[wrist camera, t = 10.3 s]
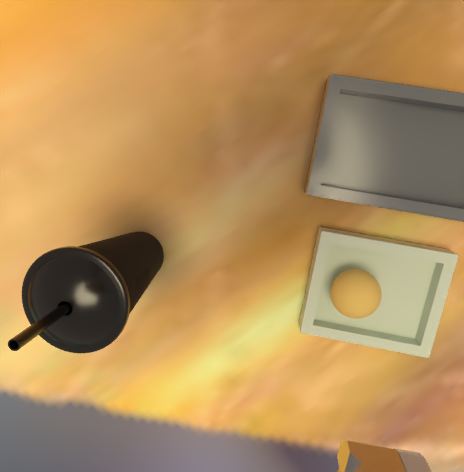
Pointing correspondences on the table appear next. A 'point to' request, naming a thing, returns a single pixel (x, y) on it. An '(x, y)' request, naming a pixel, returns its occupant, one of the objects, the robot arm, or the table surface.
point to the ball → (355, 293)
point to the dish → (390, 147)
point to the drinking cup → (87, 291)
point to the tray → (392, 288)
